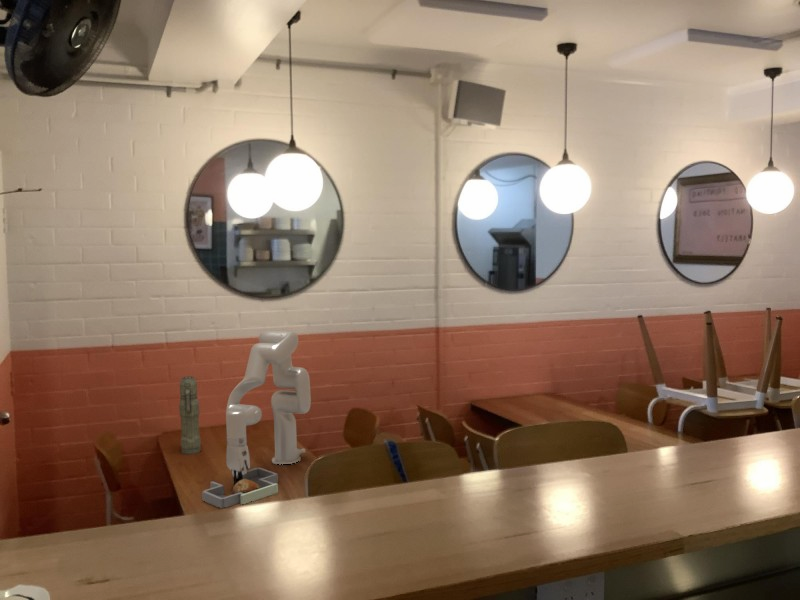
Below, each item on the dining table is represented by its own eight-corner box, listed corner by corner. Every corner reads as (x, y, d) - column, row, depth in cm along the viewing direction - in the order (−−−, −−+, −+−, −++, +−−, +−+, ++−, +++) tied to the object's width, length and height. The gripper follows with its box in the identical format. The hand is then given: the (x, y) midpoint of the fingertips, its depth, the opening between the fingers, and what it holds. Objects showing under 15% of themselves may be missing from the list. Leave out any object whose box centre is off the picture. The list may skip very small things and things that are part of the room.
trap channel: (259, 475, 302) (258, 467, 302) (293, 487, 287) (292, 478, 287) (192, 496, 279) (191, 487, 279) (225, 510, 264) (225, 501, 264)
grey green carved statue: (181, 456, 330) (178, 380, 326) (180, 449, 341) (177, 375, 337) (202, 454, 332) (198, 379, 329) (200, 447, 344) (197, 374, 340)
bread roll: (242, 499, 286) (233, 481, 285) (265, 488, 285) (255, 470, 284) (234, 508, 276) (225, 490, 276) (258, 497, 275) (248, 479, 274)
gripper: (256, 442, 281) (257, 488, 283) (233, 435, 291) (235, 480, 293) (239, 446, 276) (241, 493, 278) (217, 439, 286) (219, 484, 288)
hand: (238, 486), depth 285 cm, fingers closed
